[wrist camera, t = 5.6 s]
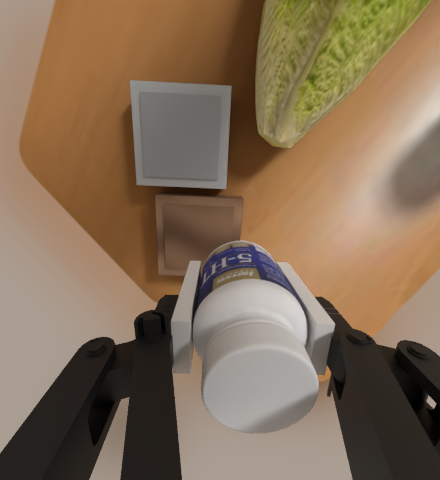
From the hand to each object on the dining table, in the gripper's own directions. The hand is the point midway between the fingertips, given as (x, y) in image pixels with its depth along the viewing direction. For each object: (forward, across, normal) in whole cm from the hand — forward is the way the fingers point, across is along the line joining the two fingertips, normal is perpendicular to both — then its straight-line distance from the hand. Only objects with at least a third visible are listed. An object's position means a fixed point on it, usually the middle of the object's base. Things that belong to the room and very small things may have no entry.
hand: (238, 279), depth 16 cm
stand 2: (+14, -4, 0) cm, 15 cm away
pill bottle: (0, 0, 0) cm, 1 cm away
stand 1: (+14, -6, +11) cm, 19 cm away
